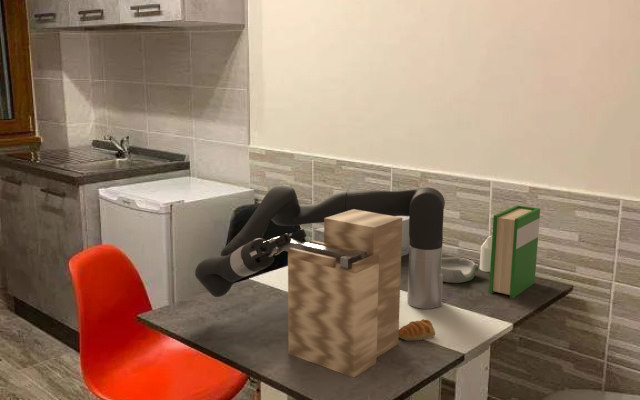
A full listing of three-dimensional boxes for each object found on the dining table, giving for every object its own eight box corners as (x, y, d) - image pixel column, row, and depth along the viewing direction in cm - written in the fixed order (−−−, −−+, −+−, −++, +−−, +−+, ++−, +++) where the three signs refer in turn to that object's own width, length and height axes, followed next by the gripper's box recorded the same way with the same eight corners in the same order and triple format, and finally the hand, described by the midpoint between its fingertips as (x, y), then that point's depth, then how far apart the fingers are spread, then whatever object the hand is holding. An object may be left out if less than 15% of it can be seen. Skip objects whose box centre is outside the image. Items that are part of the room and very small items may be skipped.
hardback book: (512, 298, 191) (518, 219, 186) (488, 293, 196) (493, 215, 191) (534, 282, 205) (540, 208, 200) (511, 278, 209) (516, 205, 204)
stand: (288, 353, 155) (287, 223, 148) (341, 326, 171) (342, 207, 164) (353, 377, 143) (356, 237, 137) (403, 345, 159) (407, 218, 153)
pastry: (407, 345, 160) (407, 330, 160) (391, 335, 166) (391, 321, 165) (437, 337, 165) (438, 323, 164) (421, 328, 170) (421, 314, 170)
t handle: (266, 250, 155) (266, 240, 155) (285, 243, 160) (285, 234, 160) (348, 269, 141) (348, 259, 140) (366, 262, 146) (366, 252, 145)
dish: (480, 275, 212) (481, 260, 211) (465, 287, 201) (466, 272, 200) (439, 267, 220) (439, 253, 219) (422, 279, 209) (423, 264, 207)
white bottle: (487, 231, 219) (502, 234, 216) (485, 265, 222) (500, 269, 218) (478, 234, 215) (493, 238, 211) (476, 269, 218) (491, 273, 214)
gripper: (276, 264, 169) (321, 243, 158) (237, 279, 158) (282, 256, 147) (265, 238, 170) (309, 214, 159) (225, 250, 159) (269, 226, 148)
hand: (296, 235), depth 153 cm, fingers open, 5 cm apart
